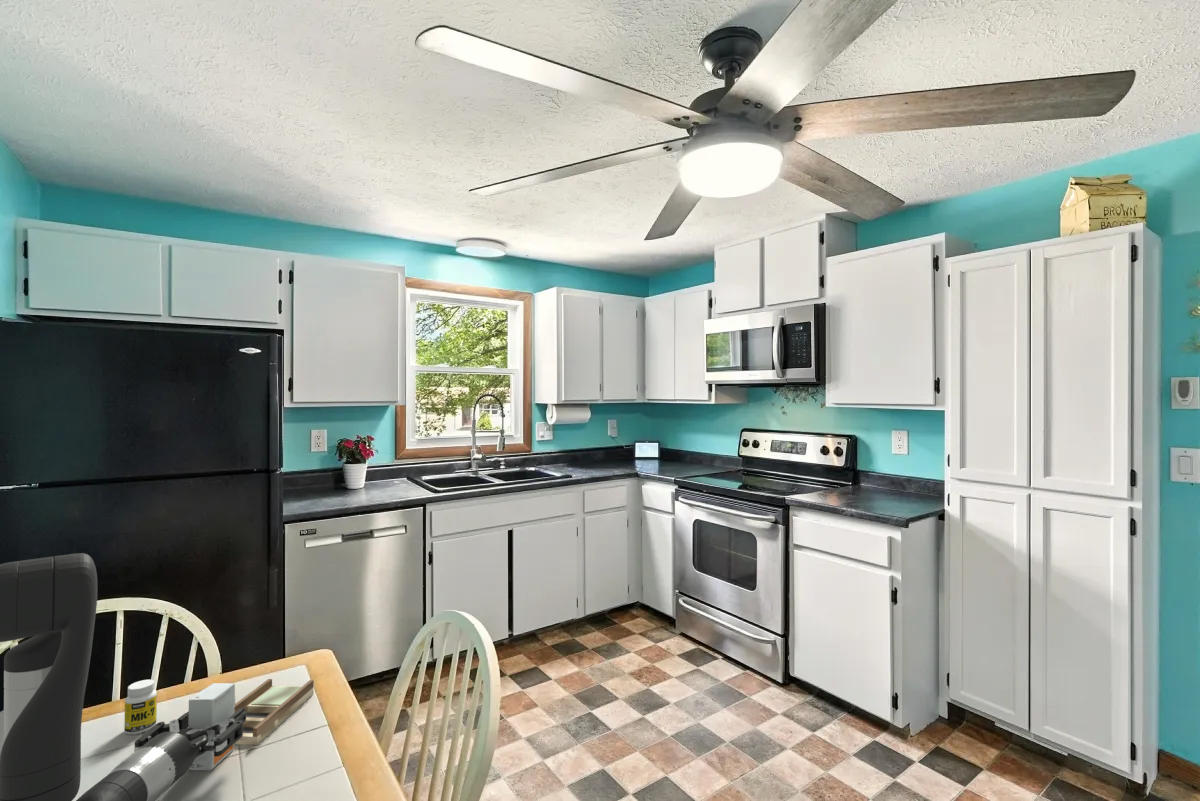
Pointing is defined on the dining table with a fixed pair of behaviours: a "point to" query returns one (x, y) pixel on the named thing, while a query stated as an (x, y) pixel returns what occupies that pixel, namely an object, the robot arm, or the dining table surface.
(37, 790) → the robot arm
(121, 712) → the dining table surface
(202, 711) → the skincare box
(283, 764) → the dining table surface
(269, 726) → the board
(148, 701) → the supplement bottle
